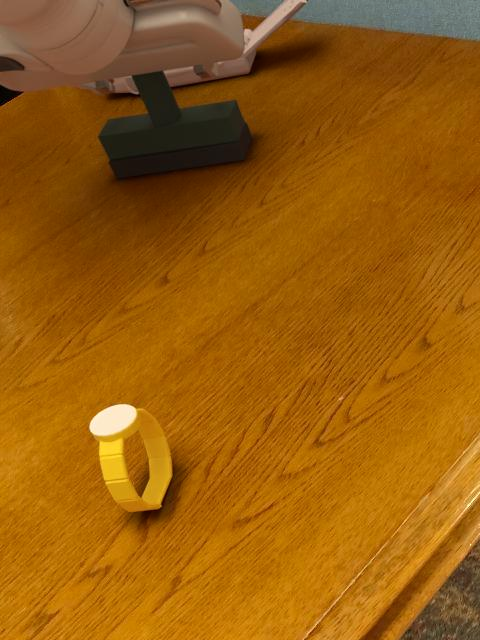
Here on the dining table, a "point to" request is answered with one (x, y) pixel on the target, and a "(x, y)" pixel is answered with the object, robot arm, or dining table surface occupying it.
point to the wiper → (173, 133)
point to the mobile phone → (230, 67)
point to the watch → (111, 434)
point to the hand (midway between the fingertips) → (158, 77)
